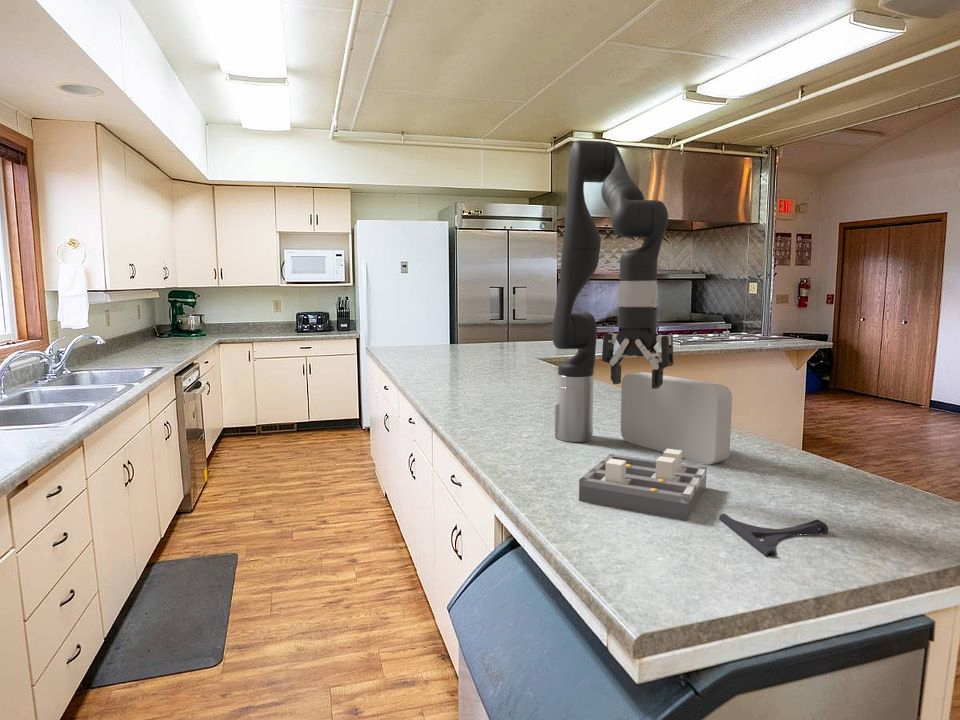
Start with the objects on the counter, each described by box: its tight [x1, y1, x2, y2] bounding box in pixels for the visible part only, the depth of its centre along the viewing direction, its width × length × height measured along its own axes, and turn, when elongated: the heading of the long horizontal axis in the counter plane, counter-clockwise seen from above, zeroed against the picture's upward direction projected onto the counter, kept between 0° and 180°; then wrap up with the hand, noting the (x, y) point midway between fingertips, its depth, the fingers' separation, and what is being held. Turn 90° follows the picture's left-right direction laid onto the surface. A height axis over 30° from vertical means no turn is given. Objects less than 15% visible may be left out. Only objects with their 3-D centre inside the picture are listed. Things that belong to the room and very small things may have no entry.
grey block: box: [620, 371, 733, 465], centre depth 146 cm, size 29×8×18 cm, turn 33°
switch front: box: [601, 459, 631, 485], centre depth 114 cm, size 5×3×4 cm
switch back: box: [662, 449, 687, 473], centre depth 120 cm, size 5×3×4 cm
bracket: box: [718, 513, 829, 558], centre depth 98 cm, size 14×15×3 cm
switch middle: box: [651, 455, 681, 482], centre depth 115 cm, size 5×3×4 cm
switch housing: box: [578, 453, 708, 521], centre depth 117 cm, size 20×19×4 cm
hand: (636, 385), depth 119 cm, fingers open, 8 cm apart
